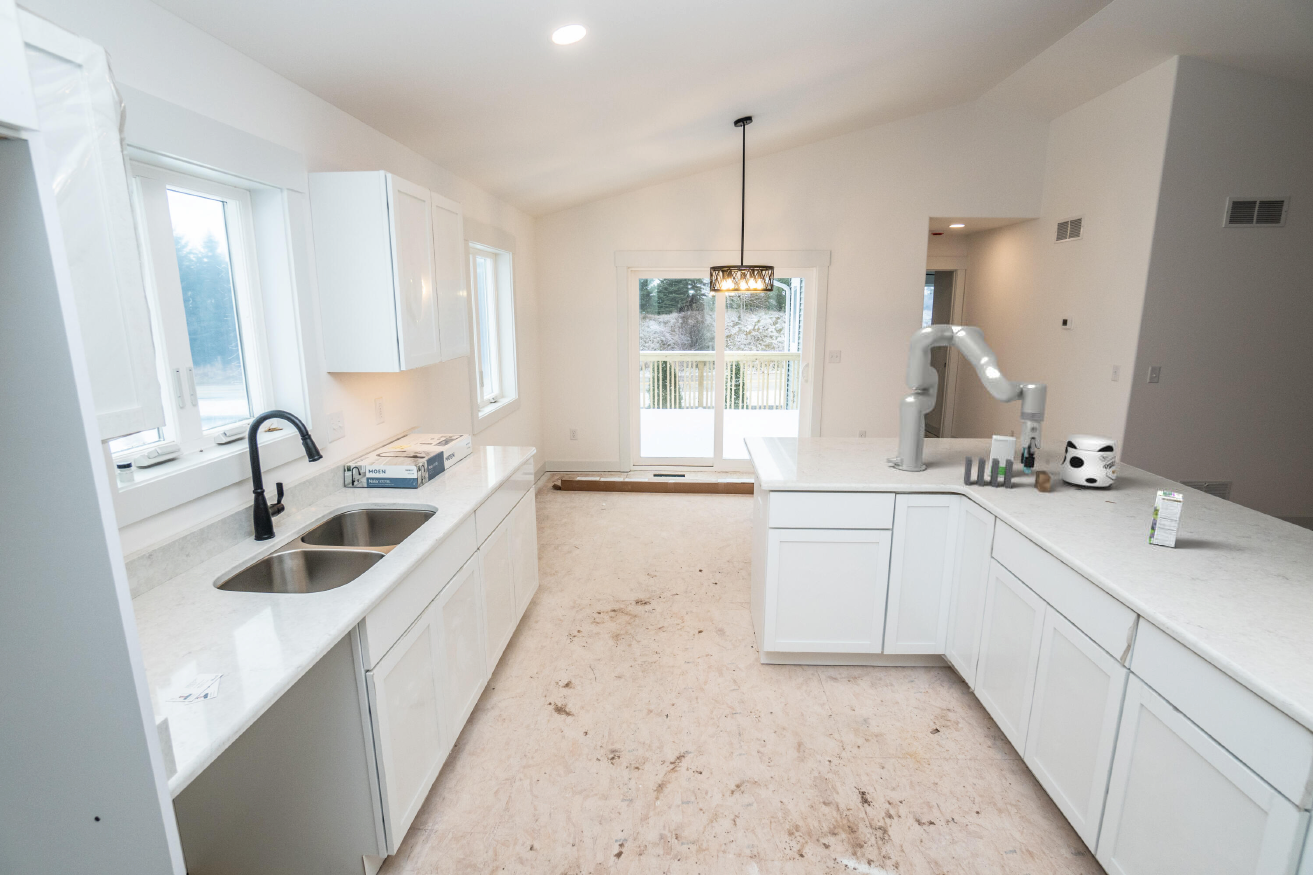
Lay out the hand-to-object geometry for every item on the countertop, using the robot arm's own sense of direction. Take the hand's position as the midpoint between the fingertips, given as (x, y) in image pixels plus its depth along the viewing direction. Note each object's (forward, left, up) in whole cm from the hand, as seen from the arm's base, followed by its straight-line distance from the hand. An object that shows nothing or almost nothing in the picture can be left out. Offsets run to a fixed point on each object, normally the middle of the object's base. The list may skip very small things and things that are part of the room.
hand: (1027, 465), depth 225 cm
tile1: (-18, +7, -9) cm, 21 cm away
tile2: (-14, +5, -9) cm, 17 cm away
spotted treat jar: (+25, +3, -9) cm, 27 cm away
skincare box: (+1, +18, -9) cm, 20 cm away
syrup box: (+6, -56, -9) cm, 57 cm away
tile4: (-5, +2, -9) cm, 11 cm away
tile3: (-10, +4, -9) cm, 13 cm away
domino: (0, 0, -3) cm, 3 cm away
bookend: (+5, -2, -9) cm, 10 cm away
